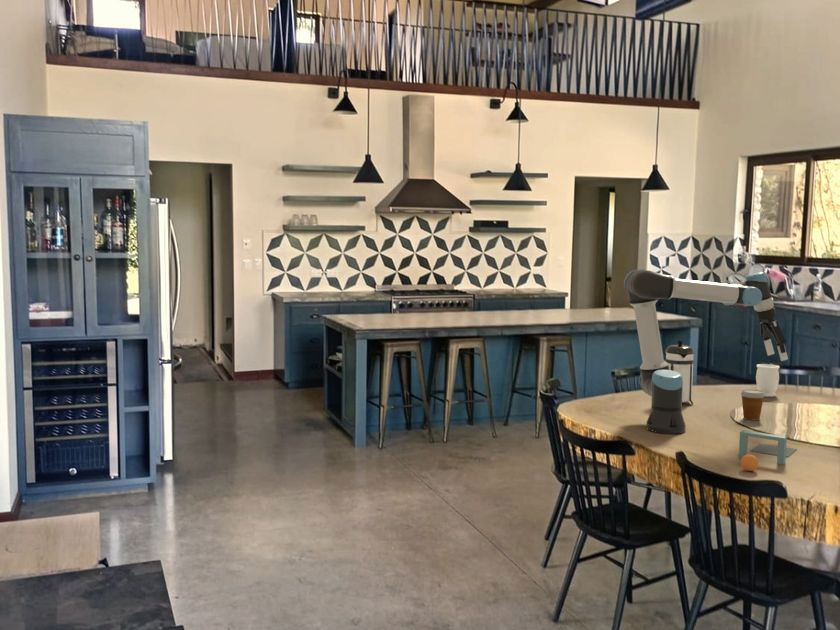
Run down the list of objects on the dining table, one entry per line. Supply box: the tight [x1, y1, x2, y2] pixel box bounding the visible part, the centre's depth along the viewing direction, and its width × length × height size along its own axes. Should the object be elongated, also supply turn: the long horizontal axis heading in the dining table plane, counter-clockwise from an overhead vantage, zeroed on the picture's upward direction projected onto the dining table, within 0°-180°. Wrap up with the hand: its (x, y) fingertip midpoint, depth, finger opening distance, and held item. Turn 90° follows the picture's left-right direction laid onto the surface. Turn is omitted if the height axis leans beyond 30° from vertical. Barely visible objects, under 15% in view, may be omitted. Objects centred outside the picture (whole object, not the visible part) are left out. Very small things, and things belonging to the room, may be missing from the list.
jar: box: [755, 363, 781, 398], centre depth 378 cm, size 11×10×15 cm
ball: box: [740, 453, 760, 472], centre depth 253 cm, size 6×6×6 cm
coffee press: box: [665, 339, 695, 406], centre depth 359 cm, size 17×16×30 cm
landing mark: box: [749, 442, 798, 458], centre depth 278 cm, size 13×13×1 cm
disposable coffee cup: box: [740, 388, 766, 421], centre depth 327 cm, size 10×10×12 cm
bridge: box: [738, 430, 788, 466], centre depth 265 cm, size 14×3×9 cm, turn 52°
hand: (777, 357), depth 319 cm, fingers open, 13 cm apart
